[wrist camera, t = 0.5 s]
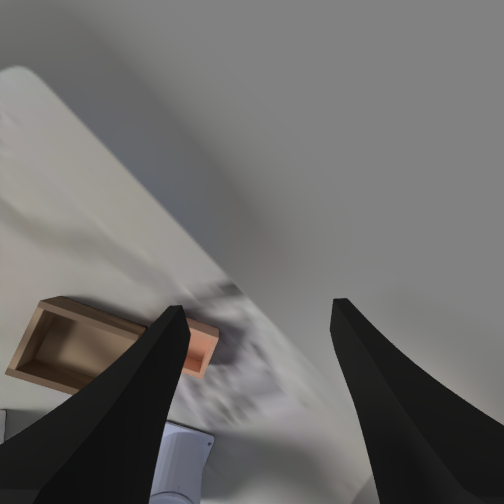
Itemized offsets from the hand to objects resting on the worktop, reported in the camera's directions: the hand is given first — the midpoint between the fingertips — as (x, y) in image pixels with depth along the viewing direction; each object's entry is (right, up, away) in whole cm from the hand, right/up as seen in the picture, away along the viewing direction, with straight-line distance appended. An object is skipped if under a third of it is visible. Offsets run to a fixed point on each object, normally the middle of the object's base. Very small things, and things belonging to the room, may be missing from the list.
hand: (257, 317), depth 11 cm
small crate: (-10, -9, +22) cm, 26 cm away
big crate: (-22, -9, +20) cm, 31 cm away
